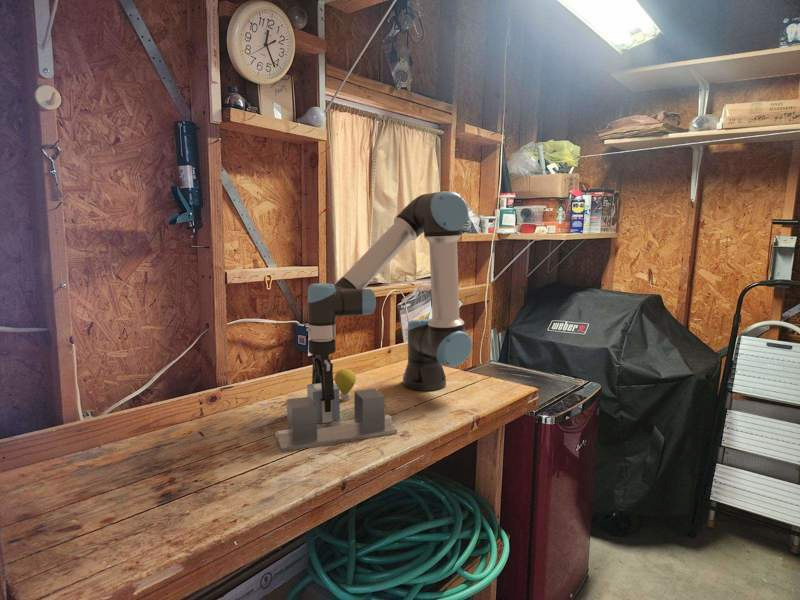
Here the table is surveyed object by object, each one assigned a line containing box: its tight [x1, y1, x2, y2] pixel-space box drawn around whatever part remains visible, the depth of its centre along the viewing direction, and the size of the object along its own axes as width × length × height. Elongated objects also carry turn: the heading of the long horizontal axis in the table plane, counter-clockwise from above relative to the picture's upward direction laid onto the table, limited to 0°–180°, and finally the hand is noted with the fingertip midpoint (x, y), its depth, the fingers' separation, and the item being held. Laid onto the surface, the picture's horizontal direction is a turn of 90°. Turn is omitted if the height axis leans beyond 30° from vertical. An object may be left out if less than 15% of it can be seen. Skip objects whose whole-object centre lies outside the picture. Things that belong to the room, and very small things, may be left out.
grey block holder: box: [274, 388, 398, 453], centre depth 129 cm, size 30×10×10 cm, turn 113°
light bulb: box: [334, 368, 357, 402], centre depth 156 cm, size 7×7×10 cm
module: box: [306, 382, 341, 424], centre depth 141 cm, size 8×7×9 cm
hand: (322, 416), depth 142 cm, fingers open, 9 cm apart
